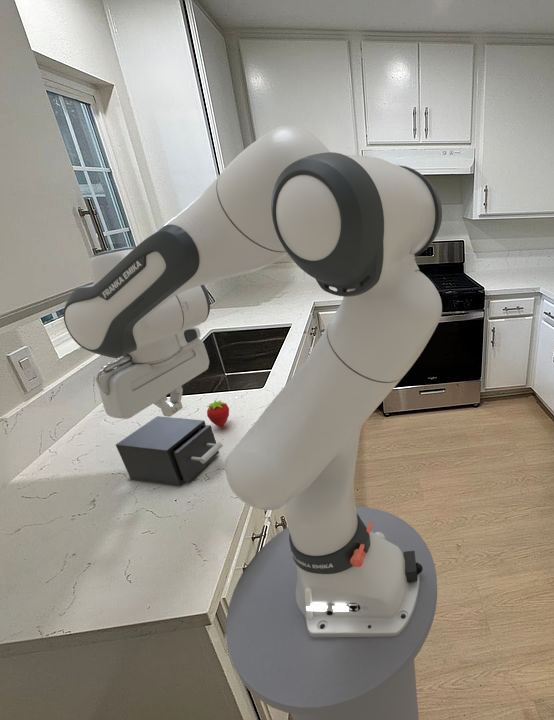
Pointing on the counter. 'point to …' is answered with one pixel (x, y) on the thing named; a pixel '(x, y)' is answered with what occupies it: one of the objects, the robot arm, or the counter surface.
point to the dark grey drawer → (195, 452)
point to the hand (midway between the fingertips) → (173, 412)
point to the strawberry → (218, 413)
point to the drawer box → (156, 449)
